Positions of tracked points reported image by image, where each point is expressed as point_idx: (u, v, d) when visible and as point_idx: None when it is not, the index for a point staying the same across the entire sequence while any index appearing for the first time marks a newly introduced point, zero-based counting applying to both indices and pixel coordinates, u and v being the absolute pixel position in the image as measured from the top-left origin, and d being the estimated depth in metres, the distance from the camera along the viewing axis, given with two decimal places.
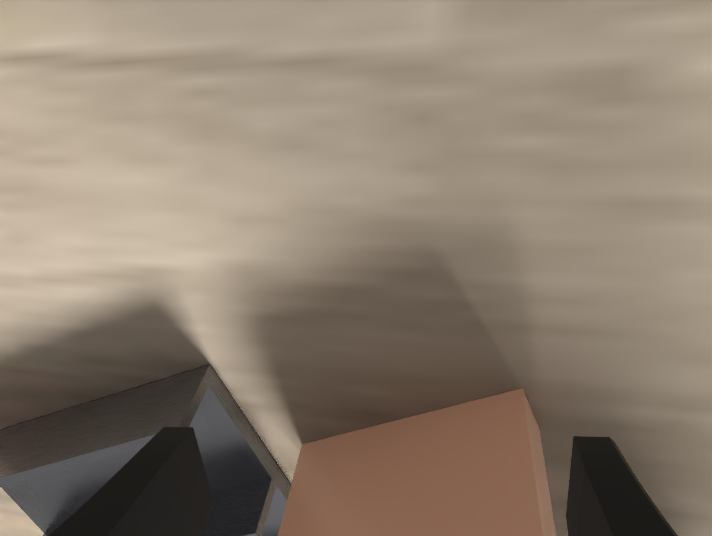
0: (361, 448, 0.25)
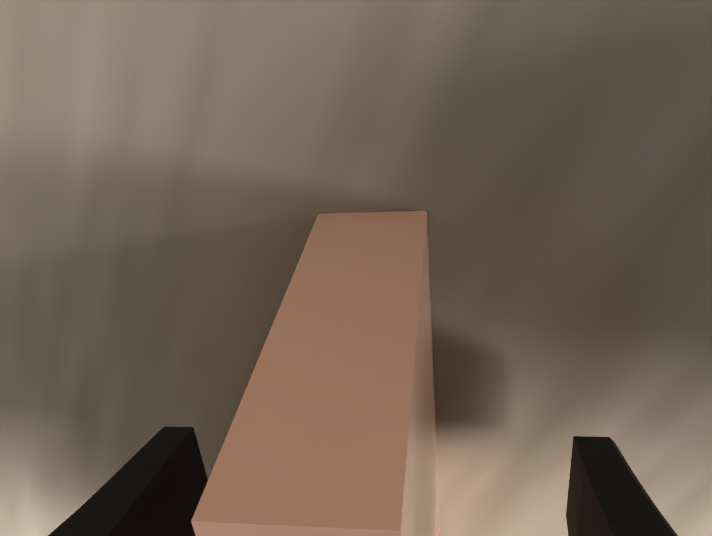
0: None
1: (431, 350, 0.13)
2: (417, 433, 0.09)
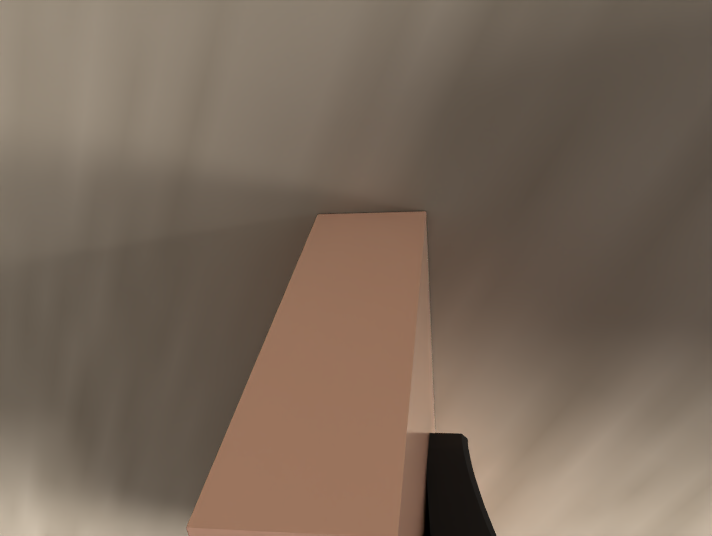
0: None
1: (430, 352, 0.13)
2: (415, 437, 0.09)
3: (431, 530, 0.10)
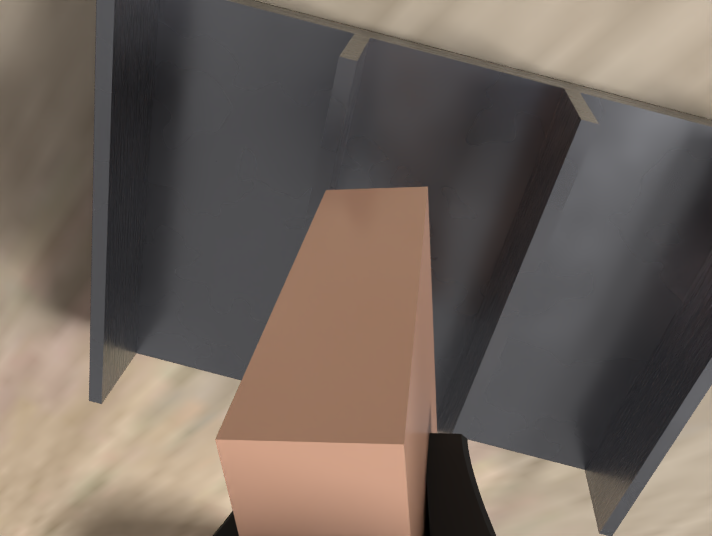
0: None
1: (432, 322, 0.14)
2: (418, 380, 0.09)
3: (431, 530, 0.10)
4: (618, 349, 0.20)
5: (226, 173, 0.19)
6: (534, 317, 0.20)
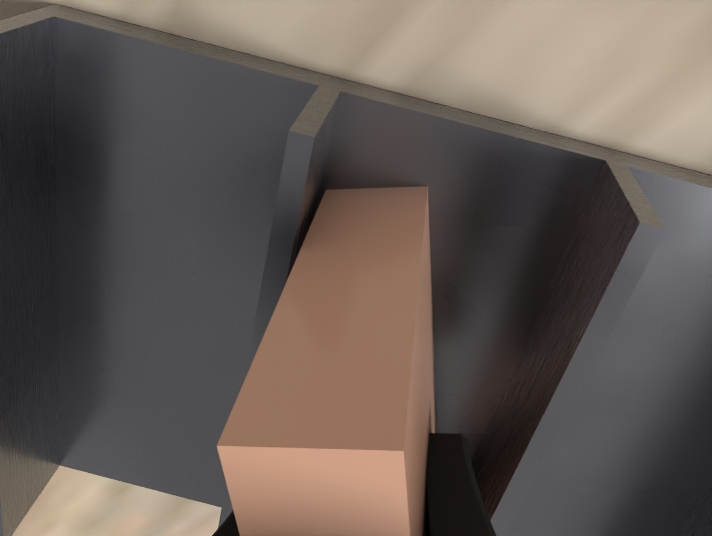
0: None
1: (432, 321, 0.14)
2: (418, 383, 0.09)
3: (431, 530, 0.10)
4: (666, 479, 0.16)
5: (157, 259, 0.14)
6: (557, 440, 0.16)
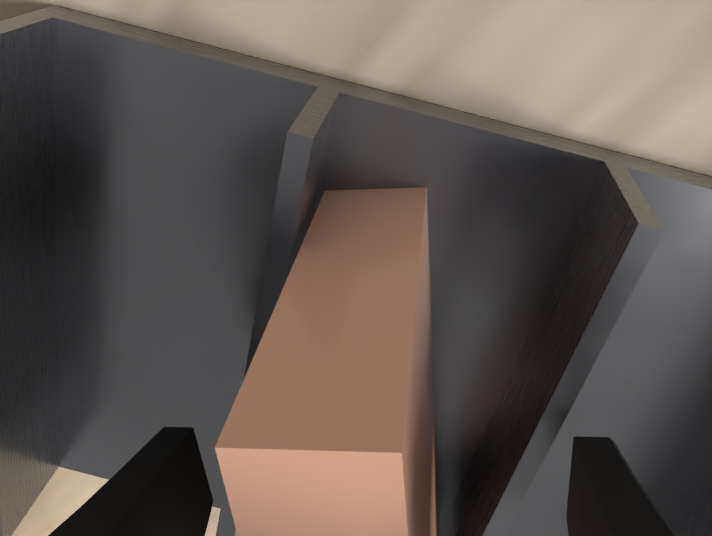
0: None
1: (431, 322, 0.14)
2: (417, 384, 0.09)
3: None
4: (665, 480, 0.16)
5: (156, 260, 0.14)
6: (556, 441, 0.16)
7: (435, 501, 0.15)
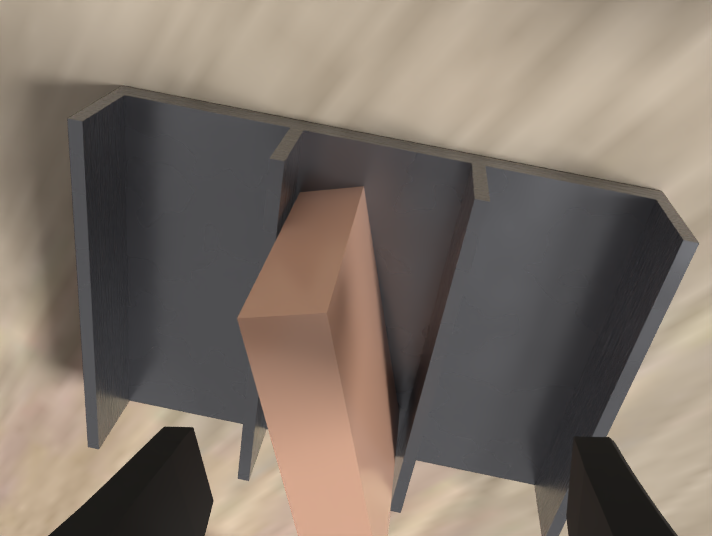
0: None
1: (375, 274, 0.21)
2: (349, 296, 0.17)
3: None
4: (549, 378, 0.23)
5: (193, 245, 0.22)
6: (471, 354, 0.23)
7: (388, 396, 0.22)
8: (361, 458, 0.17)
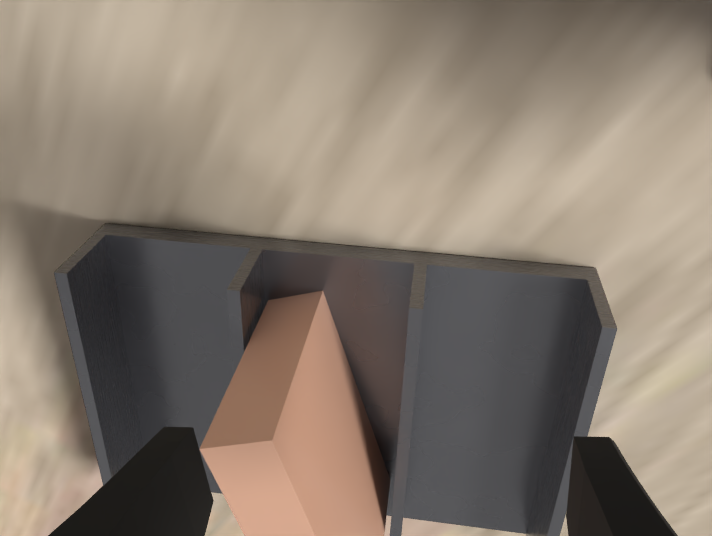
0: None
1: (345, 364, 0.23)
2: (304, 407, 0.19)
3: None
4: (521, 439, 0.24)
5: (184, 351, 0.24)
6: (446, 424, 0.25)
7: (371, 471, 0.24)
8: None
